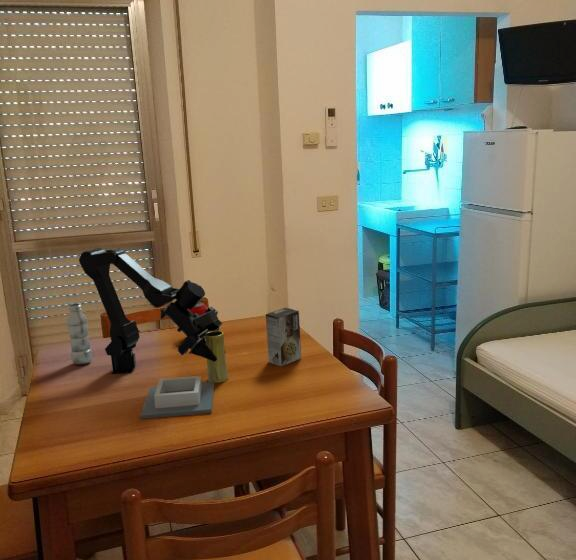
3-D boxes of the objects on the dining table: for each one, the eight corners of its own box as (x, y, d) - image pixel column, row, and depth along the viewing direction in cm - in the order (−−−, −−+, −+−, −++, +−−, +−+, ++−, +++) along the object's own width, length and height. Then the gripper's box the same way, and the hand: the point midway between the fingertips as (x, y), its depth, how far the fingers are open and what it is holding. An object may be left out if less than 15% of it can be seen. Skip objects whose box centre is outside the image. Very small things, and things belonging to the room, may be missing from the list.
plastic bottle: (94, 364, 182) (86, 305, 177) (72, 368, 179) (63, 308, 175) (93, 358, 188) (85, 301, 183) (71, 361, 185) (63, 304, 181)
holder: (140, 418, 142) (139, 402, 141) (151, 390, 159) (149, 375, 158) (211, 412, 143) (210, 396, 142) (214, 384, 161) (212, 370, 160)
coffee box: (287, 354, 183) (285, 307, 179) (302, 358, 178) (299, 310, 175) (267, 362, 176) (264, 313, 173) (281, 367, 172) (279, 317, 168)
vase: (231, 375, 167) (227, 330, 164) (223, 384, 161) (219, 337, 158) (212, 374, 169) (208, 329, 165) (204, 382, 163) (200, 336, 160)
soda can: (210, 332, 210) (207, 301, 207) (208, 338, 202) (206, 306, 200) (190, 333, 209) (187, 302, 207) (187, 339, 202) (185, 308, 199)
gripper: (183, 310, 152) (222, 351, 151) (214, 293, 169) (249, 329, 168) (161, 335, 157) (199, 375, 155) (193, 316, 174) (227, 352, 173)
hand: (220, 357), depth 163 cm, fingers closed on vase, 5 cm apart
